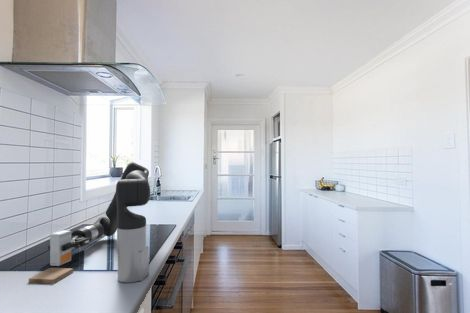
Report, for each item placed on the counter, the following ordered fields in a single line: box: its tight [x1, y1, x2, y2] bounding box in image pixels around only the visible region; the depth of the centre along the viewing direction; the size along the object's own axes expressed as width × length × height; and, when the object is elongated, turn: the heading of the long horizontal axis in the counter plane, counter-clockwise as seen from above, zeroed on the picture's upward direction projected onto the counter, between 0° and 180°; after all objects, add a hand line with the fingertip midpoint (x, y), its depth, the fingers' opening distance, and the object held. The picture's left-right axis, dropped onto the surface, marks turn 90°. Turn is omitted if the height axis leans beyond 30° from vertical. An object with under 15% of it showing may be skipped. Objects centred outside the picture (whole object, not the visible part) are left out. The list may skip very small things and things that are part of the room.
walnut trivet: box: [28, 267, 74, 284], centre depth 95 cm, size 9×9×1 cm
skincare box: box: [49, 229, 72, 267], centre depth 107 cm, size 6×4×12 cm
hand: (55, 248), depth 105 cm, fingers open, 5 cm apart
